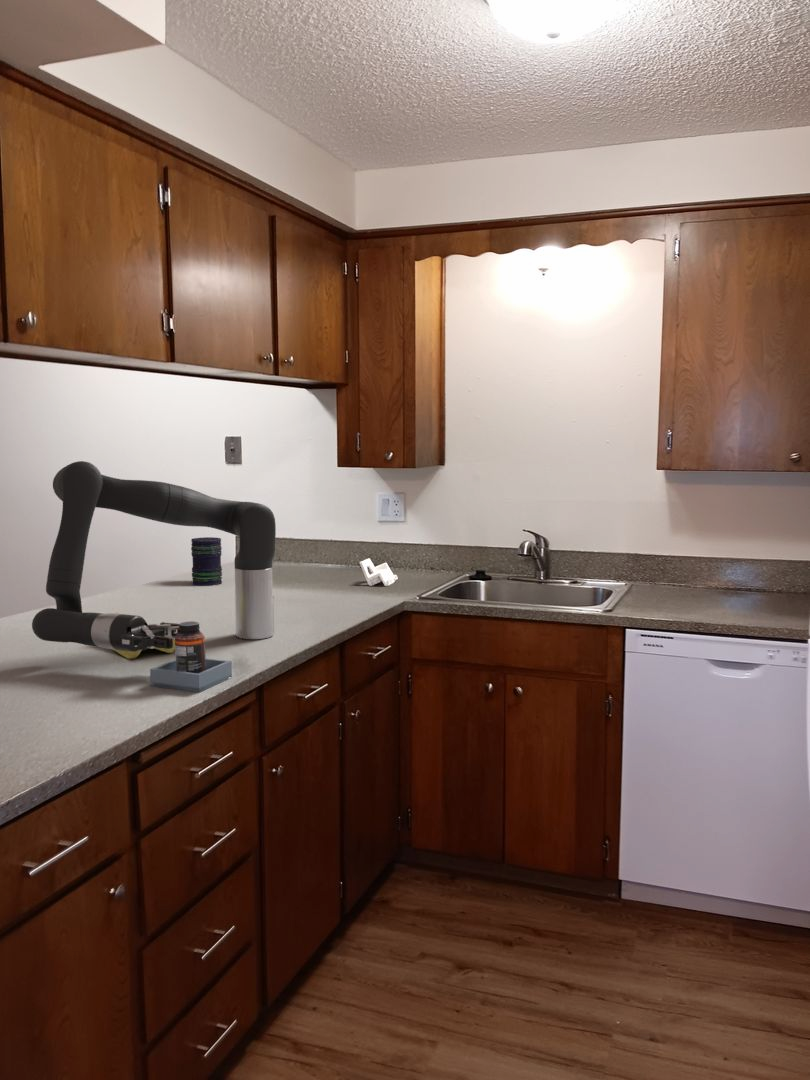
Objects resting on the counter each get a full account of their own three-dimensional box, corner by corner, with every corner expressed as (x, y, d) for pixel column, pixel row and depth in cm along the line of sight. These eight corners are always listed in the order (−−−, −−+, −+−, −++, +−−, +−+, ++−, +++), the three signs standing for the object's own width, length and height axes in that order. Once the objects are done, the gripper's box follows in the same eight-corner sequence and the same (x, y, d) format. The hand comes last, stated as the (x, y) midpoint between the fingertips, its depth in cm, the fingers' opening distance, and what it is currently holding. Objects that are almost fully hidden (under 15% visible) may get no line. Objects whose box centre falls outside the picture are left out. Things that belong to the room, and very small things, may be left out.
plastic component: (181, 643, 210) (144, 630, 203) (168, 673, 209) (130, 661, 203) (144, 622, 225) (109, 610, 218) (132, 650, 224) (96, 638, 217)
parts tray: (184, 671, 193) (184, 655, 193) (231, 677, 189) (231, 661, 189) (150, 686, 183) (150, 668, 182) (199, 692, 178) (199, 674, 178)
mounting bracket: (383, 586, 312) (370, 557, 312) (399, 579, 310) (386, 550, 310) (371, 592, 300) (359, 562, 300) (388, 585, 298) (375, 555, 298)
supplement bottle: (196, 672, 190) (194, 618, 189) (211, 677, 186) (210, 622, 185) (170, 677, 186) (168, 623, 185) (186, 683, 182) (184, 627, 180)
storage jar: (186, 585, 300) (185, 540, 298) (199, 580, 310) (198, 537, 308) (214, 586, 298) (213, 541, 296) (227, 581, 308) (226, 537, 306)
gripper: (95, 620, 184) (162, 627, 178) (140, 608, 197) (204, 614, 192) (97, 657, 185) (163, 665, 179) (141, 642, 198) (204, 649, 192)
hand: (184, 638), depth 185 cm, fingers open, 8 cm apart
